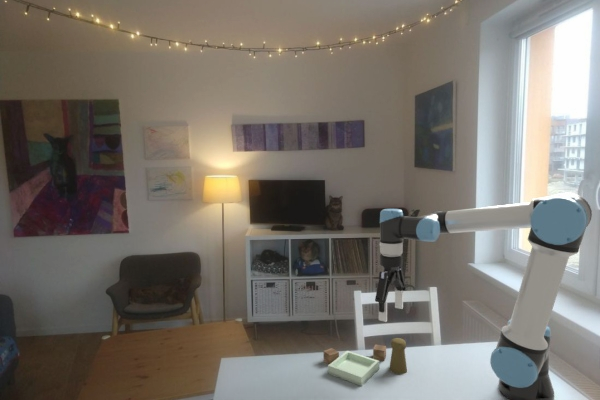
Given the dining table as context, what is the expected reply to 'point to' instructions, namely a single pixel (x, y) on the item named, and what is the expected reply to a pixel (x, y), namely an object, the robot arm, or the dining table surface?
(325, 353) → the walnut cube
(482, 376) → the dining table surface
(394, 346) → the olive tall rounded piece
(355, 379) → the tray
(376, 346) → the walnut cube
